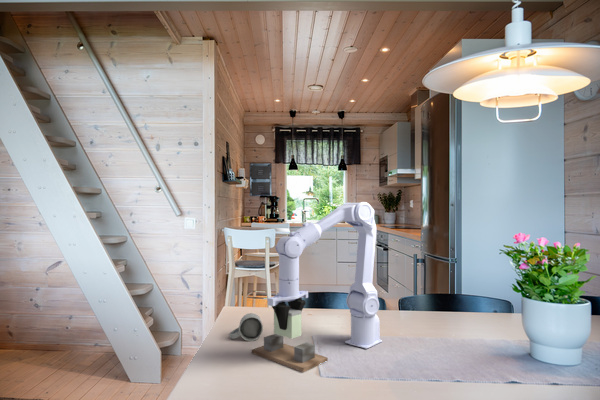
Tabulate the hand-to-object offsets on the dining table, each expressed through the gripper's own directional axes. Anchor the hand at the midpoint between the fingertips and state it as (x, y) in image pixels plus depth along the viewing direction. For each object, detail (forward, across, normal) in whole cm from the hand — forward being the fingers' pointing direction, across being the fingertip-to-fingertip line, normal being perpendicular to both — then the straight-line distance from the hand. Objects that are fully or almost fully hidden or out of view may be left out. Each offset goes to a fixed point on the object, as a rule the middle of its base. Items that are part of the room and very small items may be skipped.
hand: (288, 327), depth 109 cm
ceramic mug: (+9, -3, -22) cm, 24 cm away
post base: (+8, 0, 0) cm, 8 cm away
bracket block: (+2, 0, 0) cm, 2 cm away
